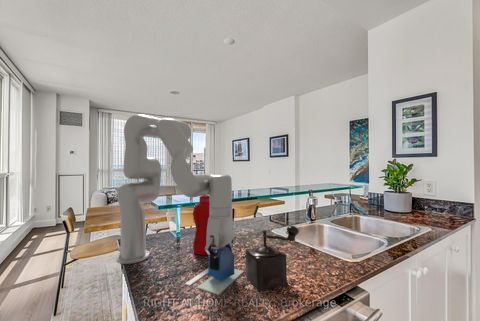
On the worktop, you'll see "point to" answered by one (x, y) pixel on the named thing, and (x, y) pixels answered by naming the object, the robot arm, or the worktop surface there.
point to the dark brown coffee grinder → (268, 263)
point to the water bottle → (201, 224)
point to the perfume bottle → (223, 264)
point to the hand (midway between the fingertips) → (221, 264)
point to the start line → (197, 277)
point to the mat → (219, 283)
